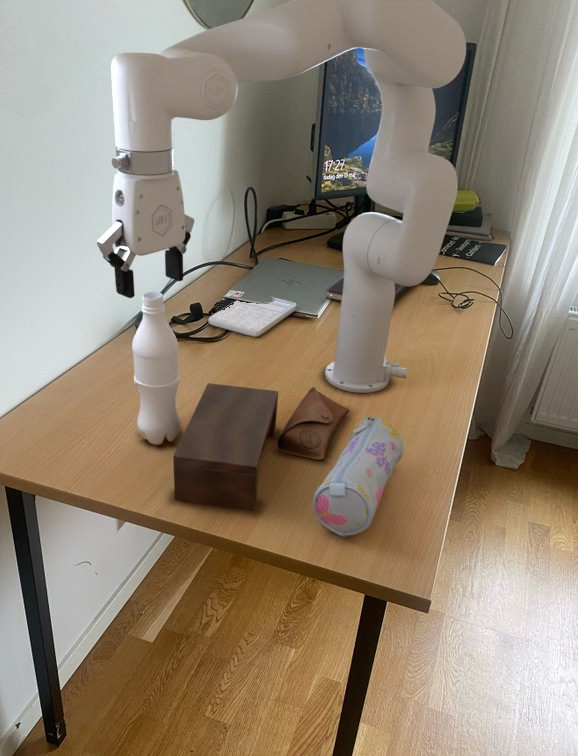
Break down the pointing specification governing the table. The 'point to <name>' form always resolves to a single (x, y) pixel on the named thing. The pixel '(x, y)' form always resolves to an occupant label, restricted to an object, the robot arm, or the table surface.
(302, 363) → the table surface
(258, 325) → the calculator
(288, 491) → the table surface
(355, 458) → the pencil case
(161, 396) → the water bottle
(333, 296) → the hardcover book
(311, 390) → the sunglasses case
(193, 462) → the wooden block
